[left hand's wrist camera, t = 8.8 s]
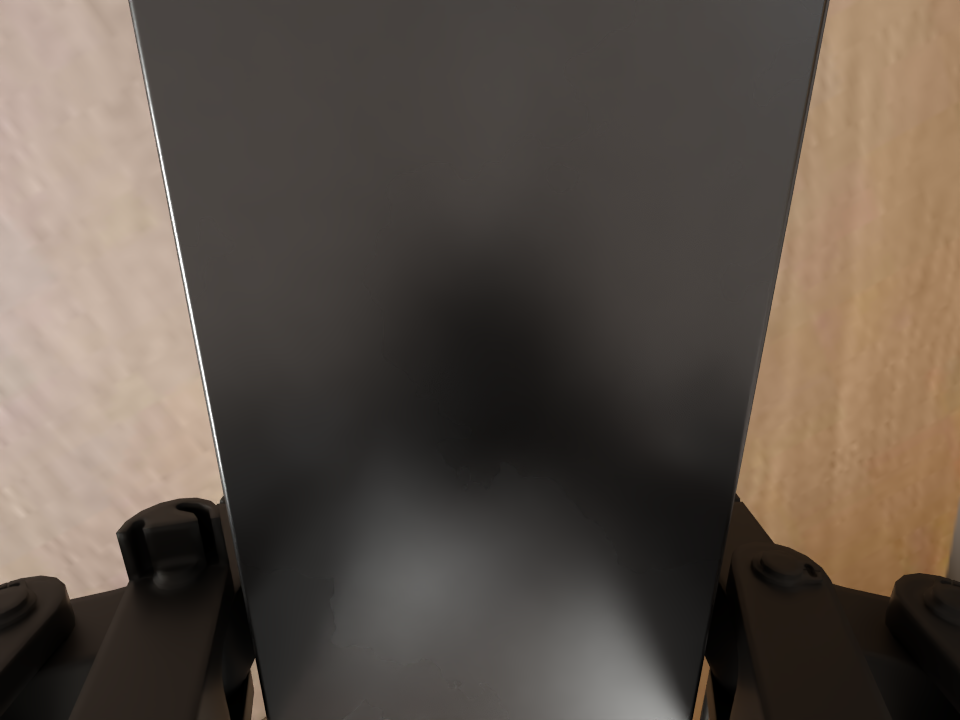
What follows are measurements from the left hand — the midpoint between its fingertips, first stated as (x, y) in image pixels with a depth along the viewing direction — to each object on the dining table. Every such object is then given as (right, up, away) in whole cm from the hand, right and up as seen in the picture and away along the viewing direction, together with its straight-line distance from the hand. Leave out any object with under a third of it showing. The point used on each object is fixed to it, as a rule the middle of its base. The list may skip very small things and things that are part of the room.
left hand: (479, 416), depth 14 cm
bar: (0, +9, -2) cm, 9 cm away
